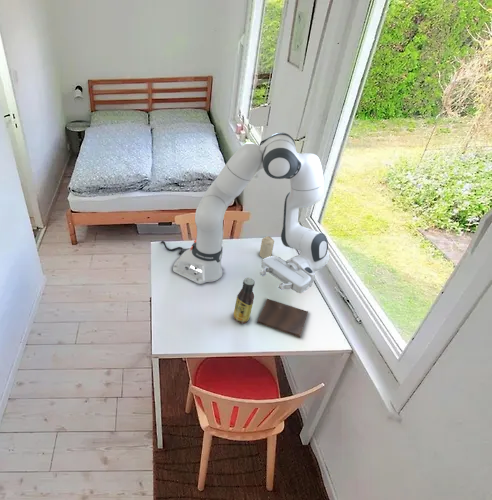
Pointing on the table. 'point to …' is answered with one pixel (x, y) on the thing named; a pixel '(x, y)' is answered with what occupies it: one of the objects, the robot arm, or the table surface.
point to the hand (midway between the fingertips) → (270, 280)
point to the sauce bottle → (244, 301)
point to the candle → (266, 247)
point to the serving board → (283, 317)
